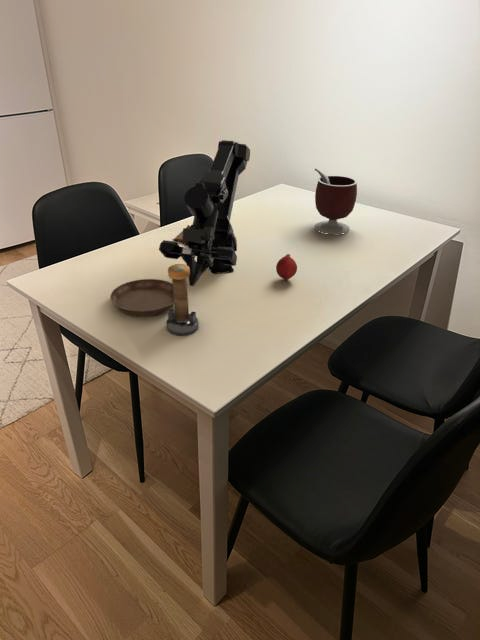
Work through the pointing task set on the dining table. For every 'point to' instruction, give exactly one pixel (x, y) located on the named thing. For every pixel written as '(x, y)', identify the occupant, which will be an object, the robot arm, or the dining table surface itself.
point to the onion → (286, 267)
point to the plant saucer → (143, 297)
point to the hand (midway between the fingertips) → (191, 285)
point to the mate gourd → (334, 201)
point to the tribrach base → (182, 324)
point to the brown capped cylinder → (180, 290)
